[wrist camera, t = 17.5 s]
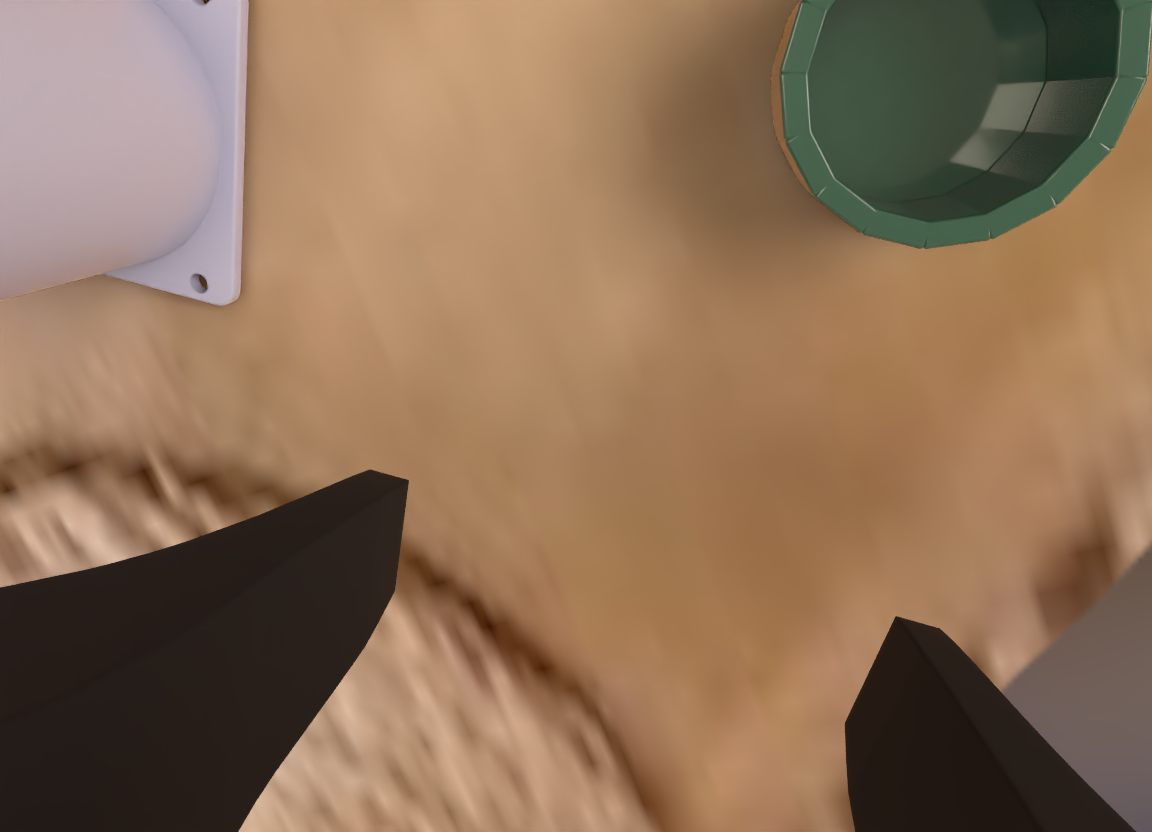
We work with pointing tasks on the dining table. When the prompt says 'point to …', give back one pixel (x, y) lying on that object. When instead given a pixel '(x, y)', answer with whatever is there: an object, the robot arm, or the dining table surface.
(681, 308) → the dining table surface
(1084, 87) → the pen pot
